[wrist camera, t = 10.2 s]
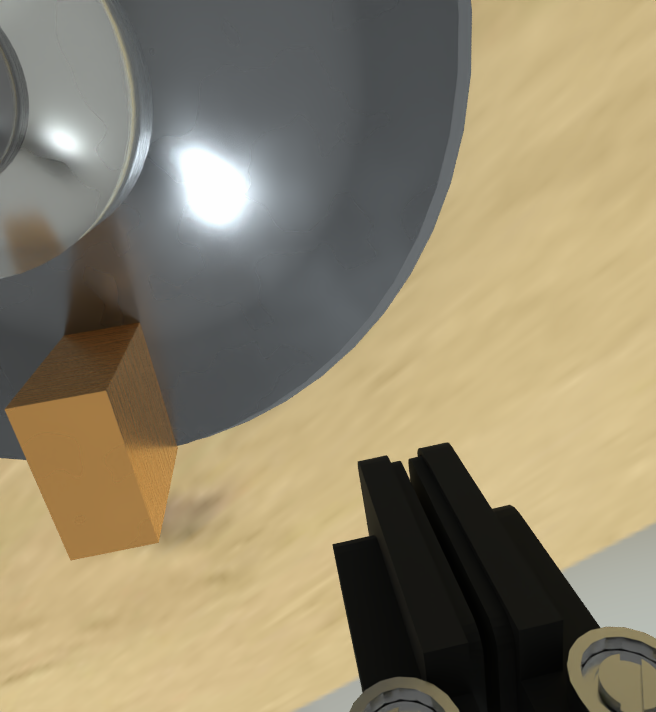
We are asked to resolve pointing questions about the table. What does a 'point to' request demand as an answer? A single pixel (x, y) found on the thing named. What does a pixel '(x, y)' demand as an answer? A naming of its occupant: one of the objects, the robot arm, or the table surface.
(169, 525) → the table surface
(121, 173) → the cover
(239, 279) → the turntable
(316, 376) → the turntable base
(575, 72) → the table surface
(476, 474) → the table surface
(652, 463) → the table surface
